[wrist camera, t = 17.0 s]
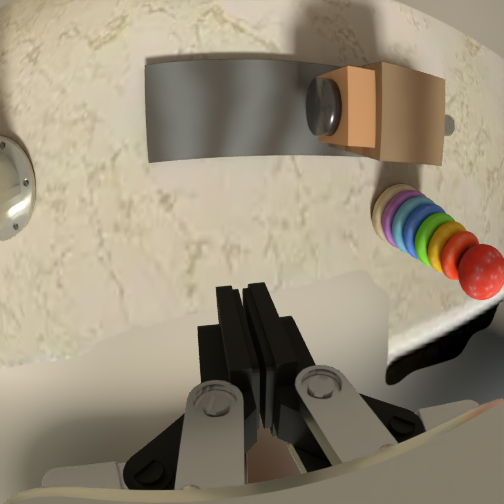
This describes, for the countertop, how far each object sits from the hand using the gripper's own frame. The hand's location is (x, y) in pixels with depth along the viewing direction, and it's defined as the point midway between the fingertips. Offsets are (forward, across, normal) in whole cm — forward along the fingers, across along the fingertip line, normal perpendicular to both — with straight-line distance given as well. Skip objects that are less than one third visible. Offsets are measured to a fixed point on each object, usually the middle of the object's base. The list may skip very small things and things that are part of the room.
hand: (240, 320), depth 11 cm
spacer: (+19, -11, -8) cm, 23 cm away
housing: (+23, -7, -8) cm, 25 cm away
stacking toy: (+23, -23, +4) cm, 33 cm away
